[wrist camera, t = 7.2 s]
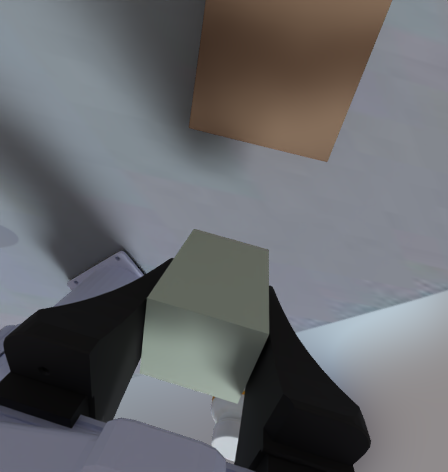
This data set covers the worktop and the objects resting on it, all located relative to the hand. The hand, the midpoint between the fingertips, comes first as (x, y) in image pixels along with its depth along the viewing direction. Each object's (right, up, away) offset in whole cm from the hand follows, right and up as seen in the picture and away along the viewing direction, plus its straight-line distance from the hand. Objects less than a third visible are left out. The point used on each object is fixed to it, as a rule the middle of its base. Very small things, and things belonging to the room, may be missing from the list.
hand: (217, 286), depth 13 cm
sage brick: (0, +1, +1) cm, 2 cm away
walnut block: (+4, +14, +3) cm, 15 cm away
